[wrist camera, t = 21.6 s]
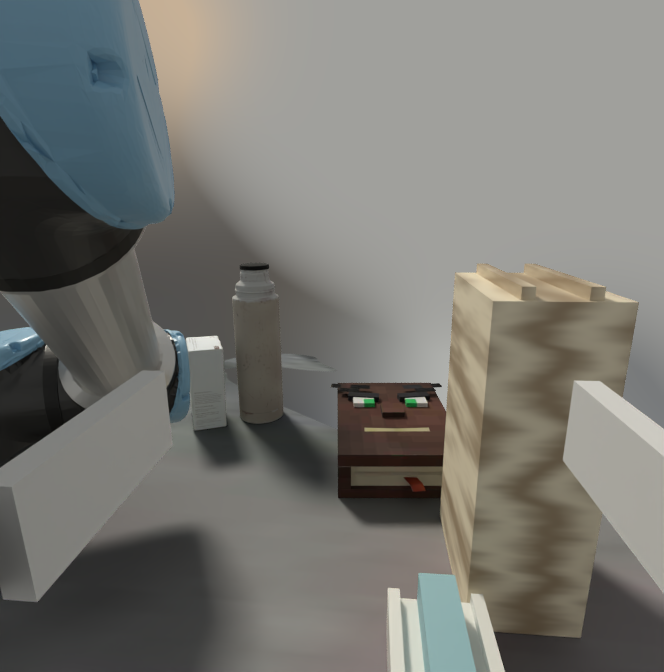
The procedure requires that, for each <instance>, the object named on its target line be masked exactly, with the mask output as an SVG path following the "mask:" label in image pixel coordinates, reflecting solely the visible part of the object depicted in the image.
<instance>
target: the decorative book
mask: <svg viewBox="0 0 664 672" xmlns="http://www.w3.org/2000/svg"><path fill="white" fill-rule="evenodd" d="M331 387H336V388H338V498H441V488H442V473H443V457H444V441H445V425H446V411H445V409H444V407H443V405H442V403H441V402H440V400H439V398H438V396H437V394H436V392H435V391H436V390H435V389H434V388H433V387H442V386H441V385H440V384H431V383H338V384H332V385H331Z"/></svg>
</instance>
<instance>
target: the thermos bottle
mask: <svg viewBox="0 0 664 672" xmlns="http://www.w3.org/2000/svg"><path fill="white" fill-rule="evenodd" d="M268 268H269V265H268V264H266V263H247V264H241V265H240V269H241V272H240V281H239V282H238V283H236V289H235V291H236V295H235V296H233V298H232V302H233V316H234V332H235V346H236V361H237V376H238V391H239V406H240V417H241V419H242V420H244V421H246V422H249V423H256V424H261V423H269V422H272V421H275V420H277V419H279V418H280V417H281V416H282V415H283V394H282V370H281V345H280V344H281V343H280V321H279V320H280V318H279V297H278V295H277V294H275V293H274V288H275V286H274V283H273V282H272V281H270V280H269V273H268V270H267V269H268Z"/></svg>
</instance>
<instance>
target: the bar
mask: <svg viewBox="0 0 664 672" xmlns="http://www.w3.org/2000/svg"><path fill="white" fill-rule="evenodd" d="M417 605H418V614H419V624H420V633H421V642H422V651H423V661H424V670H425V672H476V668H475V664H474V659H473V655H472V650H471V646H470V641H469V636H468V632H467V627H466V623H465V618H464V614H463V609H462V605H461V600H460V596H459V591H458V586H457V582H456V577H455V575H445V574H429V573H419V575H418V595H417Z"/></svg>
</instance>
